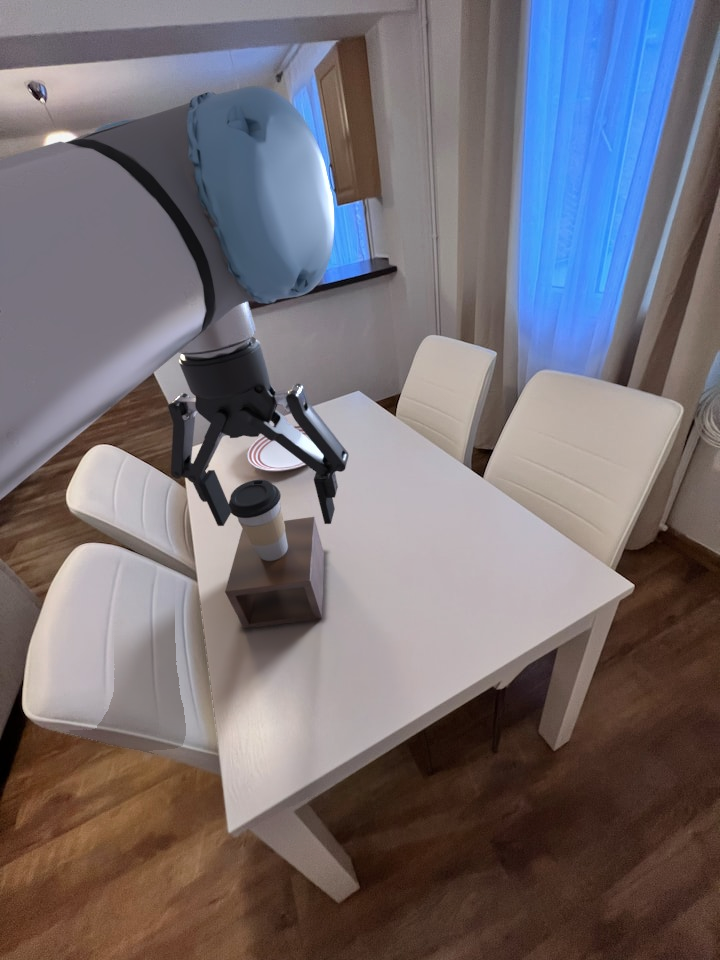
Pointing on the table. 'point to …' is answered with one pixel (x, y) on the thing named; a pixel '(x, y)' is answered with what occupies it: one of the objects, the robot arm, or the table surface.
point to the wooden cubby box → (279, 579)
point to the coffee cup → (261, 517)
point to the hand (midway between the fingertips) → (276, 517)
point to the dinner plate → (273, 455)
